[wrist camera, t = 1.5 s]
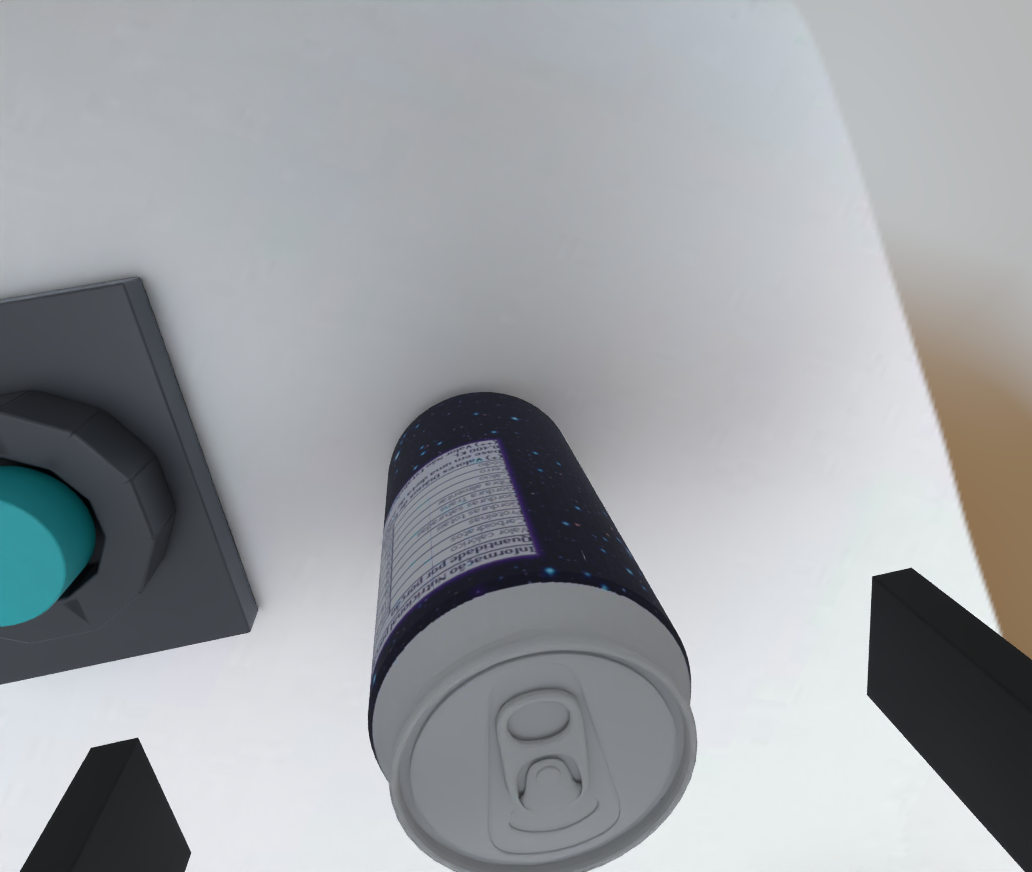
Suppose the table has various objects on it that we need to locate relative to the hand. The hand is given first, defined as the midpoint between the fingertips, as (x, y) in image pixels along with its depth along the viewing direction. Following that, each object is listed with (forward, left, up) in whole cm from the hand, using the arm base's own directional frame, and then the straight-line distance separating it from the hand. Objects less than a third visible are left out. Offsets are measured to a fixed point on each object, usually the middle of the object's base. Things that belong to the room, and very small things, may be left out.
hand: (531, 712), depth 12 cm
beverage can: (0, 0, -11) cm, 11 cm away
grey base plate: (-2, -12, -10) cm, 16 cm away
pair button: (-2, -12, -8) cm, 15 cm away
